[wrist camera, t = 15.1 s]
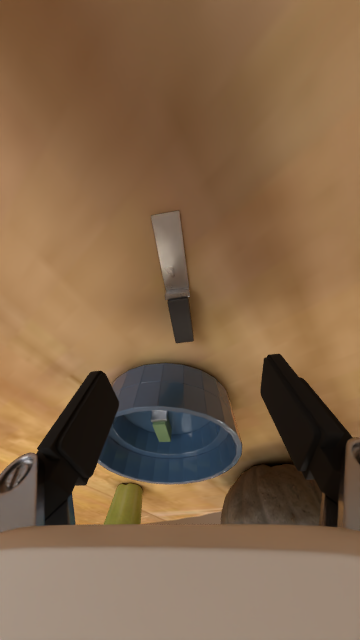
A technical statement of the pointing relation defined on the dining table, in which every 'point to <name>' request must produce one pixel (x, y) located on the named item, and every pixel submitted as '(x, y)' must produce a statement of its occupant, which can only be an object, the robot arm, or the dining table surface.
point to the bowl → (186, 422)
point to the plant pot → (125, 505)
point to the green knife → (161, 425)
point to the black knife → (174, 272)
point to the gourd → (273, 498)
